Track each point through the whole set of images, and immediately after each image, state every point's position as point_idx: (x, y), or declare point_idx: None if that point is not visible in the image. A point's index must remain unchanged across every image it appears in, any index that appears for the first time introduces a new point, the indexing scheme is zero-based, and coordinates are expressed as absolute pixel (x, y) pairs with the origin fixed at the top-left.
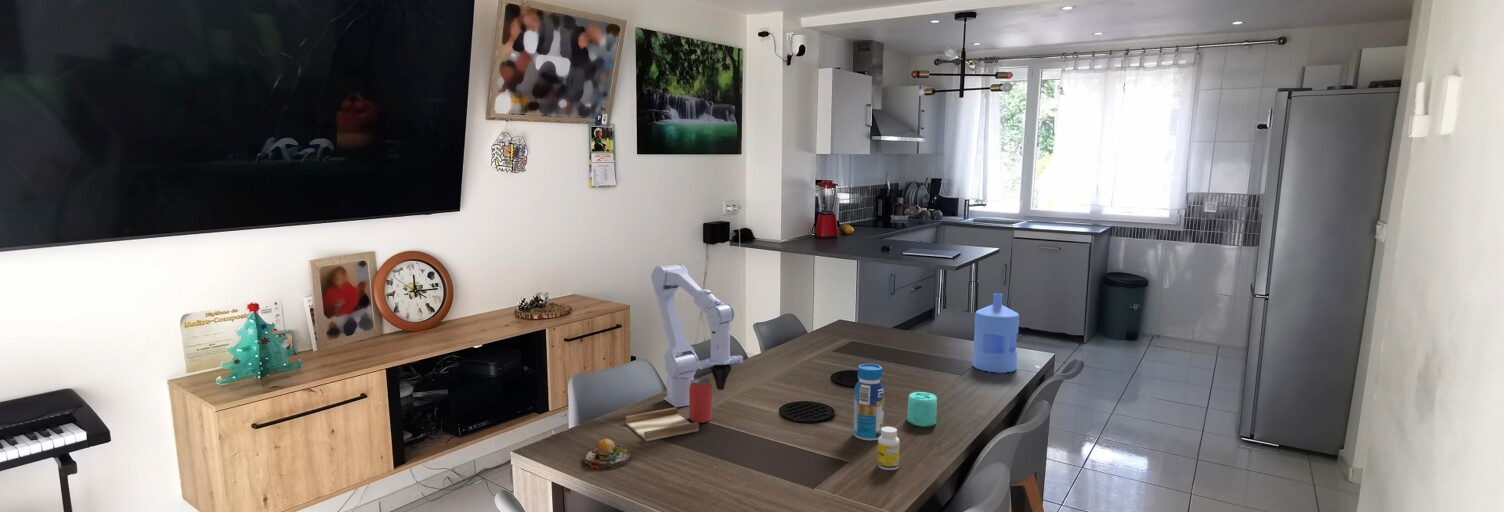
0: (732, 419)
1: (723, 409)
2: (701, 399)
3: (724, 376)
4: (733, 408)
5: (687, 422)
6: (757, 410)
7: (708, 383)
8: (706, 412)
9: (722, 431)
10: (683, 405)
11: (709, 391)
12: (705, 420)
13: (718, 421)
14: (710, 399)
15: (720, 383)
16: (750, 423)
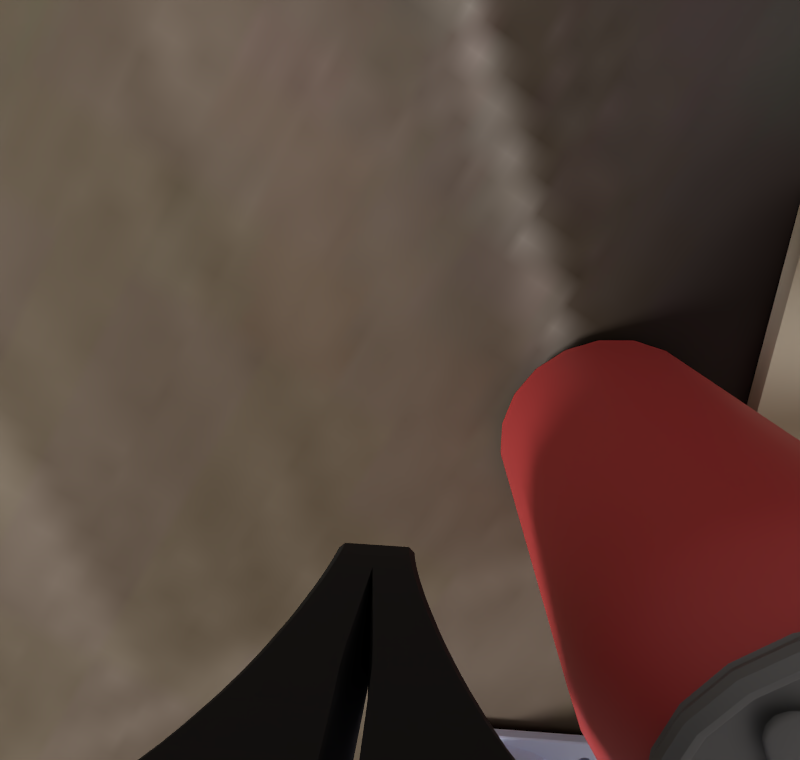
0: (347, 282)
1: (290, 534)
2: (798, 444)
3: (306, 710)
4: (203, 512)
5: (781, 398)
6: (27, 362)
7: (769, 634)
8: (641, 364)
9: (625, 22)
10: (536, 735)
11: (700, 494)
12: (624, 341)
13: (489, 308)
14: (612, 442)
15: (414, 611)
16: (245, 75)
